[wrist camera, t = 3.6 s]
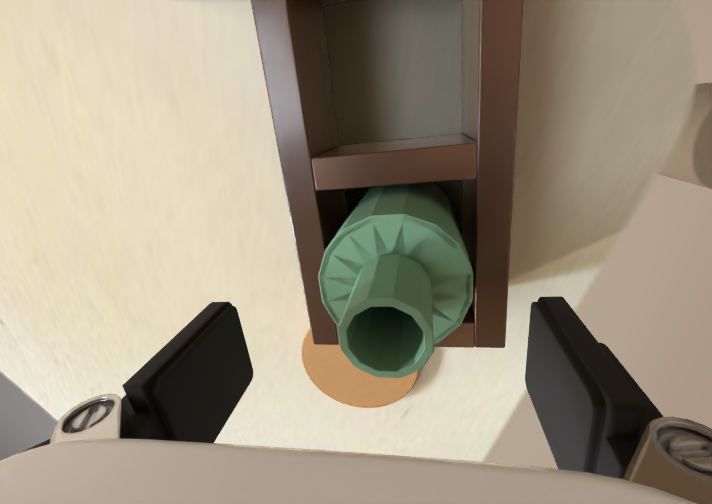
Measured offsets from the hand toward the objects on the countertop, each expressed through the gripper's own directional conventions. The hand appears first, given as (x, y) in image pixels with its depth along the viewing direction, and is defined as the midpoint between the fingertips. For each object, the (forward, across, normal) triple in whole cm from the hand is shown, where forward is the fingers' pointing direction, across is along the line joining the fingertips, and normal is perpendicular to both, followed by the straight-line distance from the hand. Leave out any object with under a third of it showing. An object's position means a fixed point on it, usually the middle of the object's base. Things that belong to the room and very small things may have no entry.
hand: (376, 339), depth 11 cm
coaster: (+12, +4, +11) cm, 17 cm away
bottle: (+12, 0, 0) cm, 13 cm away
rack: (+12, 0, -4) cm, 13 cm away
